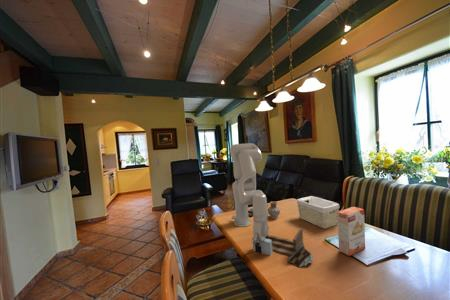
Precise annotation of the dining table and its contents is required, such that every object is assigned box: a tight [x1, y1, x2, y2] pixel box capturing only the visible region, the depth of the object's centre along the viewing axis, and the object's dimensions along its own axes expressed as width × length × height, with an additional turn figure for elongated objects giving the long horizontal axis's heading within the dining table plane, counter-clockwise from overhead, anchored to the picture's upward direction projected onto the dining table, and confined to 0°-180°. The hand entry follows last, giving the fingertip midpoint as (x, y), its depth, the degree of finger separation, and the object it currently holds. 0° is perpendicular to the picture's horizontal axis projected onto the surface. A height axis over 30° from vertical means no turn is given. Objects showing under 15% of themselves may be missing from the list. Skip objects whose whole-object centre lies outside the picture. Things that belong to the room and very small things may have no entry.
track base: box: [268, 228, 304, 257], centre depth 107 cm, size 20×14×9 cm
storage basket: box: [296, 195, 341, 230], centre depth 135 cm, size 24×16×15 cm
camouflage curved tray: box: [287, 242, 313, 268], centre depth 92 cm, size 10×7×12 cm
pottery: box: [267, 201, 281, 220], centre depth 154 cm, size 11×25×12 cm, turn 33°
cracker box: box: [337, 206, 366, 257], centre depth 98 cm, size 14×6×21 cm, turn 117°
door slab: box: [251, 237, 274, 256], centre depth 103 cm, size 10×3×7 cm, turn 55°
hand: (262, 248), depth 103 cm, fingers open, 9 cm apart
